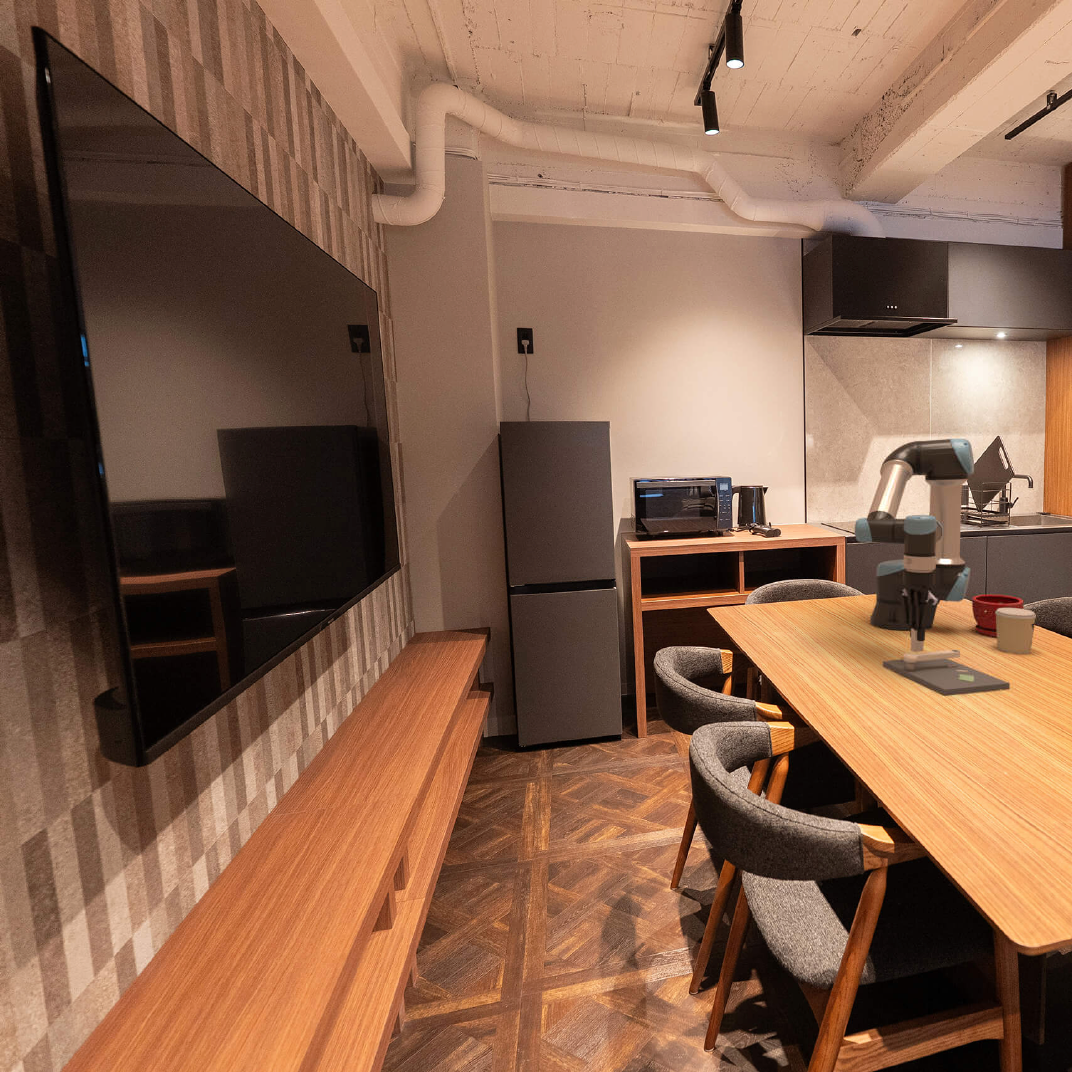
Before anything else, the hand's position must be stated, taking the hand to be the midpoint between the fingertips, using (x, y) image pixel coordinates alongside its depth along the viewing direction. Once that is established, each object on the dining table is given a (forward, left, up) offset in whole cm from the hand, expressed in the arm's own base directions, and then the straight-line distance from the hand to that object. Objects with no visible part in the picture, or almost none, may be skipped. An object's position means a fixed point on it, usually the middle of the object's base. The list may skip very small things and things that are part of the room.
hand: (917, 650), depth 164 cm
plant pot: (-20, +45, -5) cm, 50 cm away
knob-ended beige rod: (+6, -1, 0) cm, 6 cm away
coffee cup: (-5, +36, -5) cm, 37 cm away
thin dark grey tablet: (+9, 0, -5) cm, 10 cm away
